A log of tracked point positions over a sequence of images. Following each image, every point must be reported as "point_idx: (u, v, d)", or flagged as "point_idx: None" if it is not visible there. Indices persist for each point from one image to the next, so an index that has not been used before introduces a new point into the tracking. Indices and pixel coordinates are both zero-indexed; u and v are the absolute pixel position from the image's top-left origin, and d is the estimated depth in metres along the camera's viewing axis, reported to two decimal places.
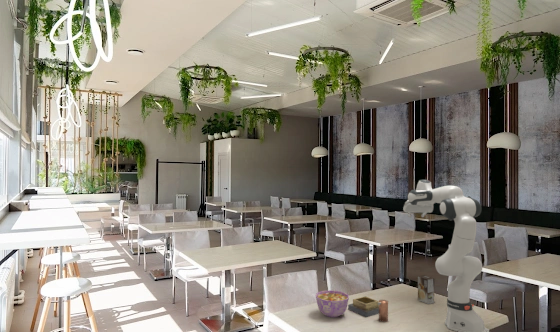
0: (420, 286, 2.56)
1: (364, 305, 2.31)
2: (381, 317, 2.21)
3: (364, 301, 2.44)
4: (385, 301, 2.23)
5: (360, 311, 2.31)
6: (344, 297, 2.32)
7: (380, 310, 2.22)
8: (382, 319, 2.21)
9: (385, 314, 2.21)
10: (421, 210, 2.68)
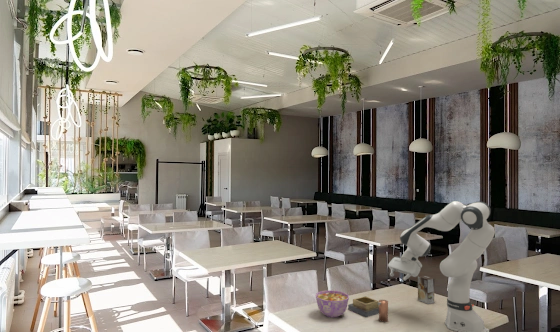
0: (420, 286, 2.56)
1: (364, 305, 2.31)
2: (381, 317, 2.21)
3: (364, 301, 2.44)
4: (385, 301, 2.23)
5: (360, 311, 2.31)
6: (344, 297, 2.32)
7: (380, 310, 2.22)
8: (382, 319, 2.21)
9: (385, 314, 2.21)
10: (403, 267, 2.31)
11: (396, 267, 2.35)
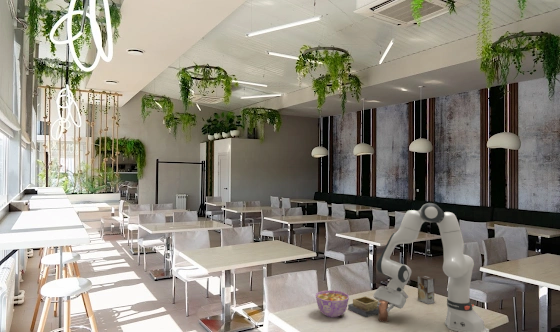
0: (420, 286, 2.56)
1: (364, 305, 2.31)
2: (381, 317, 2.21)
3: (364, 301, 2.44)
4: (385, 301, 2.23)
5: (360, 311, 2.31)
6: (344, 297, 2.32)
7: (380, 310, 2.22)
8: (382, 319, 2.21)
9: (385, 314, 2.21)
10: (389, 298, 2.23)
11: (381, 298, 2.27)
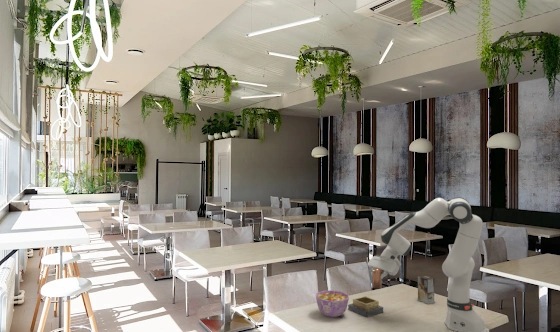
0: (420, 286, 2.56)
1: (364, 305, 2.31)
2: (375, 284, 2.26)
3: (364, 301, 2.44)
4: (379, 269, 2.27)
5: (360, 311, 2.31)
6: (344, 297, 2.32)
7: (374, 277, 2.27)
8: (376, 286, 2.26)
9: (379, 281, 2.26)
10: (382, 266, 2.28)
11: (375, 266, 2.32)
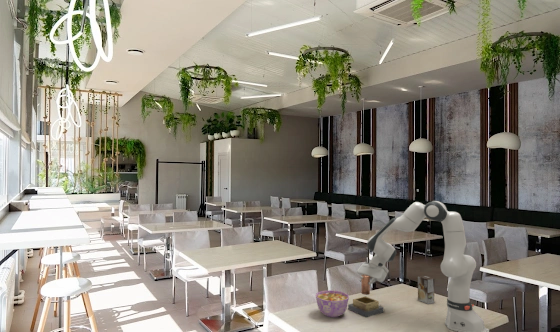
0: (420, 286, 2.56)
1: (364, 305, 2.31)
2: (363, 290, 2.36)
3: (364, 301, 2.44)
4: (367, 275, 2.37)
5: (360, 311, 2.31)
6: (344, 297, 2.32)
7: (362, 284, 2.37)
8: (364, 292, 2.36)
9: (367, 287, 2.36)
10: (371, 273, 2.38)
11: (364, 273, 2.42)
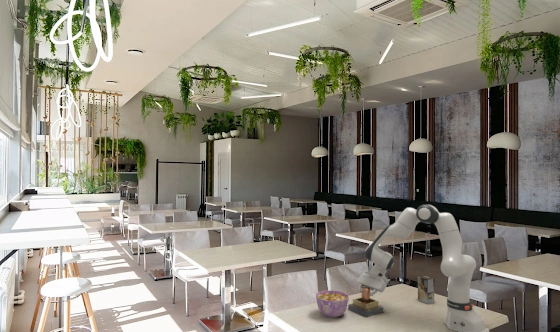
0: (420, 286, 2.56)
1: (364, 305, 2.31)
2: None
3: None
4: (367, 288, 2.37)
5: (360, 311, 2.31)
6: (344, 297, 2.32)
7: (362, 296, 2.36)
8: None
9: (367, 300, 2.35)
10: (371, 283, 2.38)
11: (364, 283, 2.42)
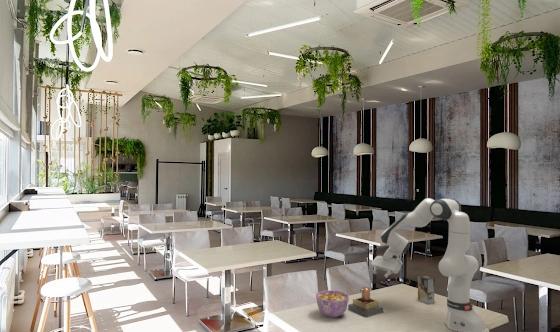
0: (420, 286, 2.56)
1: (364, 305, 2.31)
2: None
3: None
4: (367, 288, 2.37)
5: (360, 311, 2.31)
6: (344, 297, 2.32)
7: (363, 296, 2.36)
8: None
9: (367, 300, 2.35)
10: (385, 265, 2.45)
11: (378, 265, 2.49)
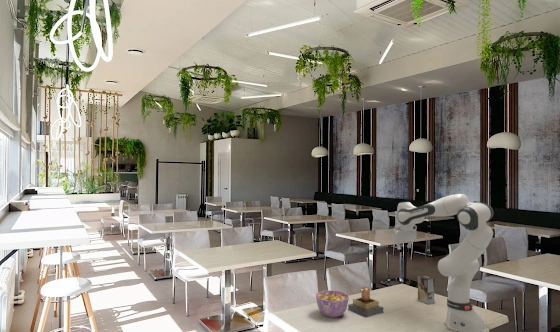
0: (420, 286, 2.56)
1: (364, 305, 2.31)
2: None
3: None
4: (367, 288, 2.37)
5: (360, 311, 2.31)
6: (344, 297, 2.32)
7: (362, 296, 2.36)
8: None
9: (367, 300, 2.35)
10: (408, 238, 2.45)
11: (403, 240, 2.43)
